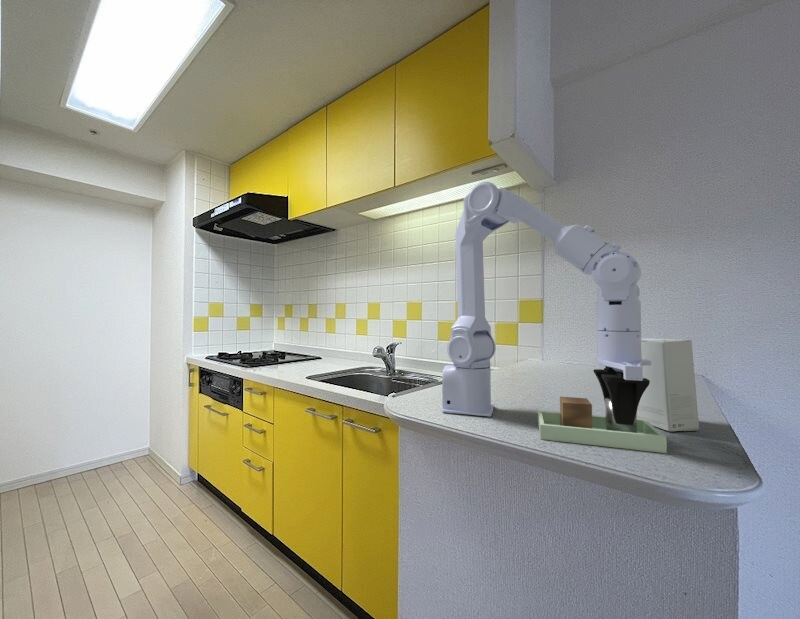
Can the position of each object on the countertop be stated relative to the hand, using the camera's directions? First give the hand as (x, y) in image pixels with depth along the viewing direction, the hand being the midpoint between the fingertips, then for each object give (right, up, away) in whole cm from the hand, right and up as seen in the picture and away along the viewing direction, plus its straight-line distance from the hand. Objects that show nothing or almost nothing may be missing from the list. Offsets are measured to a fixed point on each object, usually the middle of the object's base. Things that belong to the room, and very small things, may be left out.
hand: (619, 419), depth 51 cm
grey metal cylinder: (0, -2, 0) cm, 2 cm away
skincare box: (+12, -3, +7) cm, 14 cm away
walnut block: (-6, -3, +2) cm, 7 cm away
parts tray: (-3, -3, +1) cm, 5 cm away
